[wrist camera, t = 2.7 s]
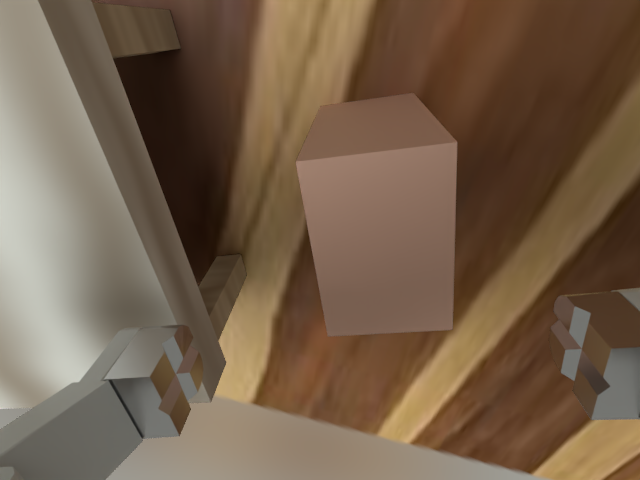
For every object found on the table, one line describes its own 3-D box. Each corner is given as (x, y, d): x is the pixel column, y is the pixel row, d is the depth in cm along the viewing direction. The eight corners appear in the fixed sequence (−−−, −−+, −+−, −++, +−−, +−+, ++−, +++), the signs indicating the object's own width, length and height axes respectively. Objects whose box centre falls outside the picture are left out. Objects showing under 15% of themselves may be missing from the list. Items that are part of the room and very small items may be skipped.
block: (413, 92, 16) (457, 142, 9) (416, 218, 19) (452, 329, 12) (320, 105, 17) (295, 162, 10) (337, 226, 19) (327, 336, 13)
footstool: (177, -8, 15) (21, -38, 8) (257, 281, 22) (210, 402, 15) (-114, 50, 17) (-440, 65, 10) (41, 298, 24) (-90, 411, 17)
